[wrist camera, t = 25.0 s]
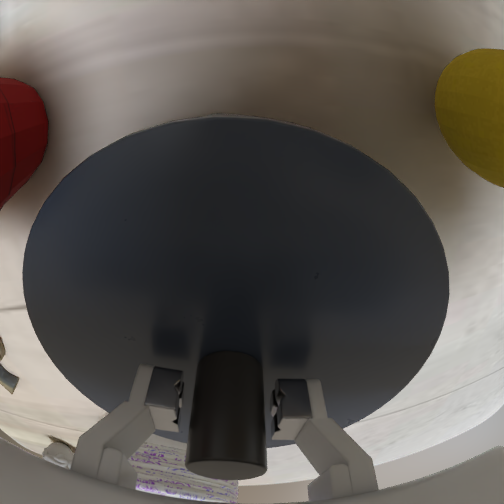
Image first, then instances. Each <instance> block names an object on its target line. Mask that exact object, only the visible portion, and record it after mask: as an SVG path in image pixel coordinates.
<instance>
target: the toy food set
mask: <svg viewBox="0 0 504 504" xmlns="http://www.w3.org/2000/svg"><path fill="white" fill-rule="evenodd" d="M4 355H5V349H4V346H3V343H2V341H1V338H0V361H1V360H2V358H3V356H4ZM17 382H18V378H17V377H15V376H13V375H11V374H9V373H8V372H7V371H6V370H5V369H4V368H3V367H2V366H1V365H0V384H1V385H2V386H4V387H5V388H6V389H7V390H8V391H9V392H10V393H11V394H13V392H14V390H15V388H16V385H17Z"/></svg>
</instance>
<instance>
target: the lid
mask: <svg viewBox="0 0 504 504" xmlns="http://www.w3.org/2000/svg"><path fill="white" fill-rule="evenodd" d="M22 273H23V290H24V297H25V302H26V307H27V311H28V315H29V317H30V320H31V323H32V326H33V328H34V331H35V333H36V335H37V337H38V339H39V341H40V343H41V345H42V346H43V348H44V350H45V352H46V353H47V354H48V356H49V357H50V359H51V360H52V362H53V363H54V364H55V366H56V367H57V368H58V369H59V371H60V372H61V373H62V374H63V375H64V376H65V377H66V379H67V380H68V381H69V382H70V383H71V384H72V385H73V386H75V387H76V388H77V389H78V390H79V391H80V392H81V393H82V394H83V395H85V396H86V397H87V398H88V399H90V400H91V401H92V402H94V403H95V404H96V405H98V406H99V407H101V408H102V409H104V410H105V411H107V412H108V413H110V412H112V411H113V410H114V409H115V408H116V407H118V406H119V405H120V404H121V403H123V402H124V401H126V402H128V401H129V397H130V394H131V390H132V387H133V384H134V380H135V377H136V373H137V370H138V367H139V366H140V364H147V365H153V366H157V367H163V368H169V369H176V370H182V371H183V374H184V377H183V382H184V401H183V407H182V408H180V411H181V421H180V428H179V432H172V431H165V430H158V429H155V430H156V431H155V432H154V433H153V434H155V435H158V436H161V437H163V438H167V439H171V440H174V441H178V442H182V443H187V449H186V457H185V467H186V468H187V470H189V471H190V472H192V473H194V474H197V475H200V476H203V477H207V478H212V479H220V480H244V479H251V478H255V477H258V476H261V475H263V474H265V473H266V471H267V450H266V448H272V447H279V446H285V445H291V444H296V443H295V441H294V440H272V439H271V422H272V419H273V417H272V415H271V414H270V397H271V393H272V391H273V390H274V389H275V382H276V380H277V379H319V380H320V382H321V386H322V391H323V396H324V401H325V406H326V411H327V416H328V418H332V419H333V420H334V421H335V422H336V423H337V424H338V425H339V426H340V427H341V428H342V429H343V428H345V427H347V426H349V425H351V424H353V423H355V422H357V421H359V420H361V419H363V418H365V417H366V416H368V415H370V414H371V413H373V412H374V411H376V410H377V409H379V408H380V407H382V406H383V405H384V404H386V403H387V402H388V401H390V400H391V399H392V398H393V397H395V396H396V395H397V394H398V393H399V392H400V391H401V390H402V389H403V388H404V387H405V386H406V385H407V384H408V383H409V382H410V381H411V380H412V379H413V378H414V376H415V375H416V374H417V373H418V372H419V370H420V369H421V368H422V366H423V365H424V363H425V362H426V360H427V359H428V357H429V356H430V354H431V353H432V351H433V349H434V347H435V345H436V342H437V340H438V338H439V336H440V334H441V331H442V327H443V324H444V321H445V318H446V313H447V307H448V300H449V271H448V266H447V261H446V257H445V252H444V248H443V245H442V243H441V240H440V238H439V235H438V233H437V231H436V228H435V226H434V224H433V222H432V220H431V219H430V217H429V216H428V214H427V213H426V211H425V210H424V208H423V207H422V205H421V204H420V202H419V201H418V200H417V198H416V197H415V196H414V194H413V193H412V192H411V191H410V190H409V189H408V188H407V187H406V186H405V185H404V184H403V183H402V182H401V181H400V180H399V179H397V178H396V177H395V176H394V175H393V174H392V173H391V172H390V171H389V170H388V169H386V168H385V167H383V166H382V165H380V164H379V163H377V162H376V161H374V160H373V159H371V158H370V157H368V156H367V155H365V154H364V153H362V152H361V151H359V150H358V149H356V148H354V147H353V146H351V145H349V144H347V143H345V142H343V141H340V140H338V139H336V138H334V137H331V136H329V135H326V134H324V133H322V132H319V131H317V130H314V129H312V128H309V127H305V126H301V125H297V124H293V123H288V122H284V121H279V120H275V119H270V118H265V117H251V116H232V115H214V116H204V117H196V118H188V119H181V120H174V121H170V122H167V123H163V124H160V125H157V126H154V127H150V128H147V129H144V130H141V131H138V132H135V133H132V134H130V135H128V136H125V137H123V138H121V139H120V140H118V141H116V142H114V143H112V144H110V145H108V146H107V147H105V148H103V149H101V150H99V151H98V152H96V153H94V154H92V155H91V156H89V157H88V158H87V159H86V160H84V161H83V162H82V163H81V164H79V165H78V166H77V167H76V168H75V169H73V170H72V171H71V172H70V173H69V174H68V175H66V176H65V177H64V178H63V179H62V181H61V182H60V183H59V184H58V185H57V187H56V188H55V189H54V190H53V192H52V193H51V194H50V195H49V197H48V198H47V199H46V201H45V202H44V204H43V206H42V208H41V209H40V211H39V213H38V215H37V217H36V219H35V221H34V223H33V225H32V228H31V231H30V234H29V237H28V241H27V244H26V248H25V253H24V262H23V272H22Z"/></svg>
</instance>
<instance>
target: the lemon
mask: <svg viewBox="0 0 504 504" xmlns="http://www.w3.org/2000/svg"><path fill="white" fill-rule="evenodd" d="M435 111H436V118H437V121H438V124H439V127H440V130H441V133H442V135H443V137H444V138H445V140H446V142H447V144H448V146H449V147H450V149H451V150H452V151H453V152H454V153H455V155H456V156H457V157H458V158H459V159H460V160H461V161H462V163H463V164H464V165H466V166H467V167H468V168H469V169H471V170H472V171H473V172H475V173H476V174H478V175H479V176H481V177H482V178H484V179H485V180H487V181H489V182H491V183H493V184H495V185H497V186H500V187H503V188H504V50H501V49H475V50H472V51H469V52H466V53H464V54H462V55H460V56H458V57H456V58H454V59H453V60H452V61H451V62H450V63H449V64H448V65H447V66H446V67H445V68H444V70H443V72H442V74H441V76H440V78H439V80H438V83H437V87H436V91H435Z"/></svg>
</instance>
